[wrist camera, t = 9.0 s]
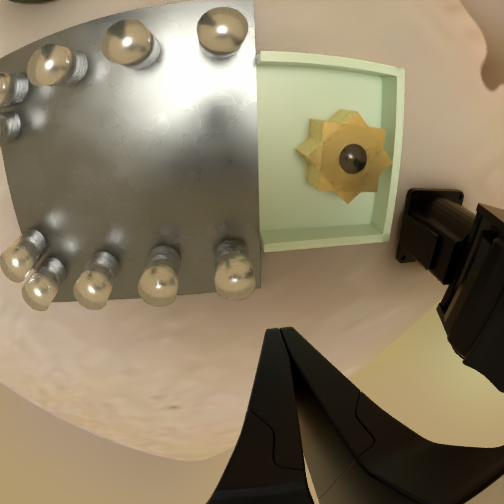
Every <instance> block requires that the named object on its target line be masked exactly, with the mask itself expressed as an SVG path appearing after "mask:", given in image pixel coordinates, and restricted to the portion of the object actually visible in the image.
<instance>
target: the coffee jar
mask: <svg viewBox="0 0 504 504" xmlns="http://www.w3.org/2000/svg"><path fill="white" fill-rule="evenodd" d="M10 1H13V2H37V1H43V0H10Z"/></svg>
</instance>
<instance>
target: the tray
mask: <svg viewBox="0 0 504 504" xmlns="http://www.w3.org/2000/svg"><path fill="white" fill-rule="evenodd" d="M255 57H256V90H257V128H258V170H259V219H260V242H261V244H262V247H263V250H264V253H265V252H276V251H288V250H299V249H310V248H321V247H332V246H343V245H355V244H366V243H377V242H388V241H389V236H390V231H391V225H392V219H393V213H394V207H395V200H396V193H397V186H398V178H399V169H400V159H401V149H402V136H403V119H404V69H402V68H398V67H394V66H389V65H385V64H380V63H375V62H369V61H364V60H358V59H352V58H345V57H338V56H330V55H321V54H310V53H297V52H278V51H260V52H259V53H258V54H257V55H256V56H255ZM340 109H345V110H352V111H358V113H359V114H360V115H361V117H362V118H363V120H364V121H365V122H366V124H367V125H369V126H373V127H378V128H381V129H385V139H384V150H385V151H386V153H387V155H388V156H389V158H390V159H391V161H392V162H393V163H392V164H391V165H390V166H389V167H388V168H386V169H385V170H384V171H383V172H382V173H381V174H380V178H379V185H378V191H377V193H375V192H361V193H359V194H358V195H357V196H356V197H355V198H354V199H353V200H352V201H351V202H350V203H349V204H346V203H345V202H344V201H343V200H342V199H340V198H339V197H338V196H337V195H336V194H334V193H333V192H332V191H318V190H317V189H316V188H315V187H313V186H312V185H311V184H310V183H309V182H308V181H307V180H306V170H307V161H306V160H305V159H304V158H303V157H302V156H301V155H300V153H299V152H298V151H297V150H296V148H297V147H298V146H299V145H300V144H301V143H302V142H303V141H305V140H306V139H307V138H308V137H309V126H310V119H321V120H328V119H329V118H331V117H332V116H333V115H334V114H335V113H336V112H337V111H339V110H340Z"/></svg>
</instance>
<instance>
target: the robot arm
mask: <svg viewBox="0 0 504 504" xmlns="http://www.w3.org/2000/svg"><path fill="white" fill-rule="evenodd" d="M414 194H415V196H414V197H413V195H414ZM458 196H459V197H458ZM463 197H464V194H463V192H462V191H460V190H448V189H415V188H413V189H411V190H410V191H409V193H408V197H407V203H406V210H405V215H404V221H403V226H402V232H401V237H400V242H399V246H398V251H397V255H396V259H397V260H398V261H399V262H400V263H406V262H414V261H417V262H418V263H419V264H420V265H421V266H422V267H423V268H425V269H426V270H429V271H430V272H431V273H432V274H433V275H434V276H435V277H436V278H437V279H438V280H439V281H440V282H441V283H442V284H443V285H446V284H448V285H449V286H448V288H447V290H446V292H445V295H444V297H443V299H442V301H441V303H439V305H438V307H437V309H436V310H437V312H438V314H439V317H440V319H441V321H442V324H443V326H444V329H445V331H446V334H447V339H448V341H449V343H450V344H451V346H452V348H453V350H454V351H455V353H456V354H458V355H459V356H460V357H461V358H462V359H464V360H463V361H462V362H463V364H465V365H467V366H469V367H471V368H473V369H475V370H477V371H478V372H480V373H481V374H483V375H484V376H485V377H486V378H487V379H488V380H489V381H490V382H491V383H492V384H493V385H494V386H495V387H496V388H497V389H498V390H499V391H501V392H503V393H504V210H502V209H499V208H495V207H492V206H488V205H484V204H481V203H478V206H477V209H476V211H477V213H476V215H475V214H474V213H472V212H471V211H469V210H467V209H466V208H464V207H463V206H462V202H463ZM402 256H403V257H402ZM401 257H402V258H401ZM303 453H304V455H303ZM304 456H305V460H306V463H307V466H308V469H309V472H310V475H311V478H312V482H313V485H314V488H315V491H316V494H317V497H318V499H319V504H504V445H503V446H500V447H496V448H478V447H464V446H453V445H444V444H438V443H434V442H431V441H429V440H427V439H425V438H423V437H421V436H420V435H418V434H417V433H415V432H414V431H412V430H411V429H409V428H408V427H406V426H405V425H403V424H402V423H401V422H399V421H398V420H396V419H395V418H393V417H392V416H390V415H389V414H388V413H387V412H385V411H384V410H382V409H381V408H380V407H379V406H378V405H376V404H375V403H374V402H373V401H372V400H371V399H369V398H368V397H367V396H366V395H365V394H364V393H362V392H360V390H359V389H358V388H357V387H356V386H355V385H354V384H353V383H352V382H351V381H350V380H348V379H347V378H346V377H345V376H344V375H343V374H342V373H341V372H340V371H339V370H338V369H337V368H335V367H334V366H333V365H332V364H331V363H330V362H329V361H328V360H327V359H326V358H325V357H324V356H323V355H321V354H320V353H319V352H318V351H317V350H316V349H315V348H314V347H313V346H312V345H311V344H310V343H309V342H308V341H307V340H306V339H305V338H303V337H302V336H301V335H300V334H299V333H298V332H297V331H296V330H295V329H294V328H293V327H283V328H280V329H278V328H272V329H267V330H266V332H265V337H264V341H263V345H262V350H261V354H260V358H259V363H258V367H257V371H256V375H255V380H254V384H253V388H252V392H251V396H250V400H249V404H248V408H247V412H246V416H245V420H244V423H243V427H242V430H241V433H240V436H239V439H238V441H237V444H236V446H235V449H234V451H233V453H232V455H231V458H230V460H229V462H228V464H227V466H226V469H225V470H224V473H223V475H222V477H221V479H220V481H219V483H218V485H217V487H216V489H215V490H214V492H213V494H212V496H211V497H210V499H209V500H208V502H207V503H206V504H314V501H313V499H312V496H311V494H310V491H309V488H308V483H307V478H306V472H305V463H304Z"/></svg>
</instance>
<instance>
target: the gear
mask: <svg viewBox="0 0 504 504" xmlns="http://www.w3.org/2000/svg"><path fill="white" fill-rule="evenodd" d="M384 139H385V129H381V128H378V127H373V126H369V125H367V124H366V122H365V121H364V120H363V118H362V117H361V115H360V114H359V113H358V111H352V110H345V109H340V110H339V111H337V112H336V113H335V114H334V115H333V116H332V117H331V118H329V119H328V120H321V119H310V126H309V137H308V138H307V139H306V140H305V141H303V142H302V143H301V144H300V145H299V146H298V147H297V148H296V150H297V151H298V152H299V153H300V155H301V156H302V157H303V158H304V159H305V160H306V161H307V170H306V180H307V181H308V182H309V183H310V184H311V185H312V186H313V187H315V188H316V189H317V190H318V191H332V192H333V193H334V194H336V195H337V196H338V197H339V198H340V199H342V200H343V201H344V202H345V203H346V204H349V203H350V202H351V201H352V200H353V199H354V198H355V197H356V196H357V195H358V194H359V193H361V192H375V193H377V191H378V185H379V178H380V174H381V173H382V172H383V171H384V170H385V169H386V168H388V167H389V166H390V165H391V164H392V163H393V162H392V161H391V159H390V158H389V156H388V155H387V153H386V151H385V150H384Z"/></svg>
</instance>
